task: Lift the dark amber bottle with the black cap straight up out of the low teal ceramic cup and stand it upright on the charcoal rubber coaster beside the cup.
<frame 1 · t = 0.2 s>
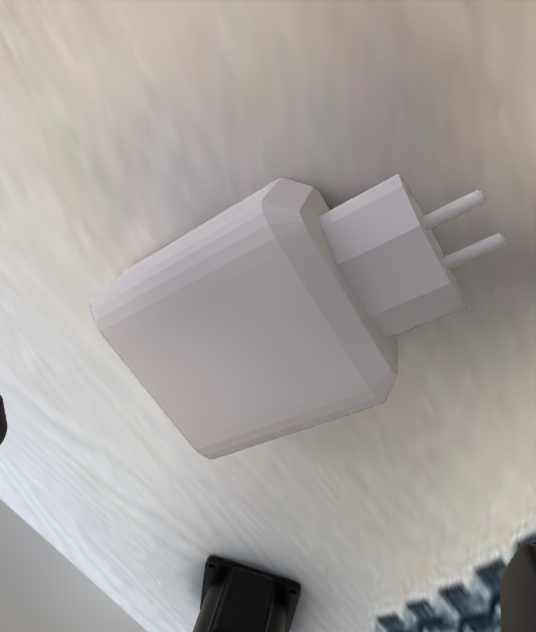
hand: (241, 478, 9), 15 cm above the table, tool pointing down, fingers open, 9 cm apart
charger: (316, 275, 23), on the table
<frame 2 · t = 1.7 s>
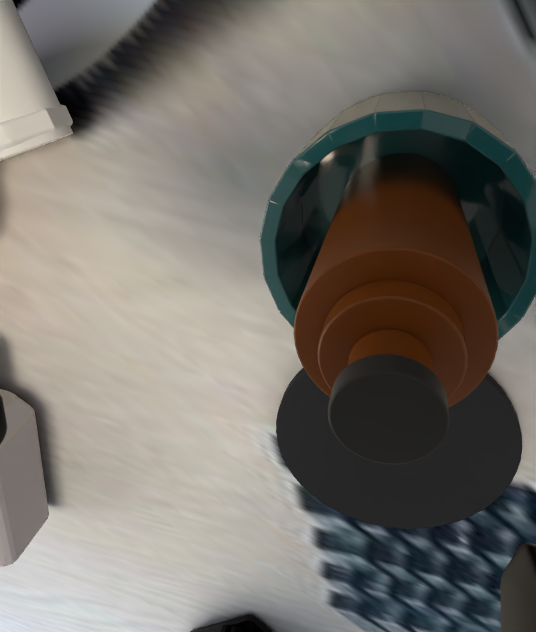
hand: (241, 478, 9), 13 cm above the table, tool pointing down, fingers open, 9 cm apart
coaster: (392, 437, 24), on the table
cup: (397, 207, 19), on the table
bottle: (397, 212, 18), point 1 cm above the table, touching cup
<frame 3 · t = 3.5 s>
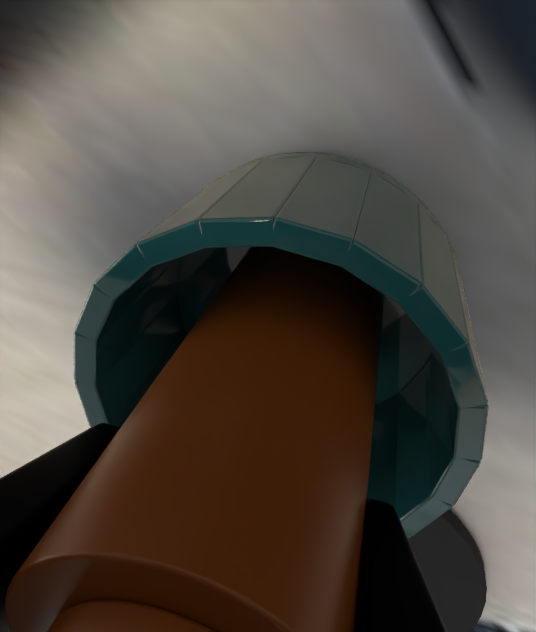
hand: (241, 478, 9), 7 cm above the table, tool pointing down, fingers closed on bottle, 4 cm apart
coaster: (327, 562, 19), on the table
cup: (306, 300, 14), on the table
bottle: (302, 311, 14), point 1 cm above the table, touching cup, gripper
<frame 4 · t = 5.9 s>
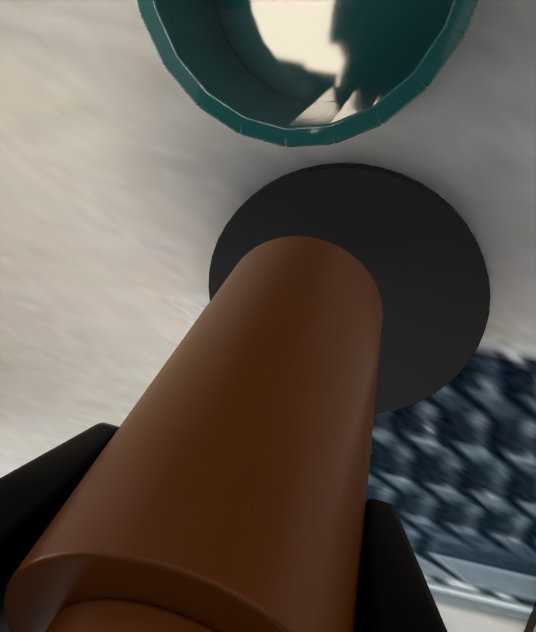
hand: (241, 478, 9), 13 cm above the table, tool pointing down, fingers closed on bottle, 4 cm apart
coaster: (341, 300, 21), on the table
bottle: (301, 310, 14), point 7 cm above the table, touching gripper
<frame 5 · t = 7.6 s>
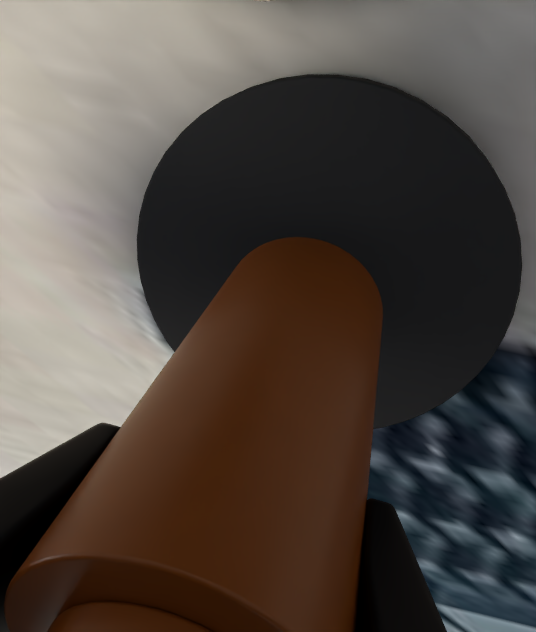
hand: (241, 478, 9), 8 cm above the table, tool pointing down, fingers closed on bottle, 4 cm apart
coaster: (315, 277, 15), on the table
bottle: (302, 311, 14), point 2 cm above the table, touching gripper
when the fingers open (6 cm above the table, at t = 8.4 s): bottle stays where it is, resting on coaster.
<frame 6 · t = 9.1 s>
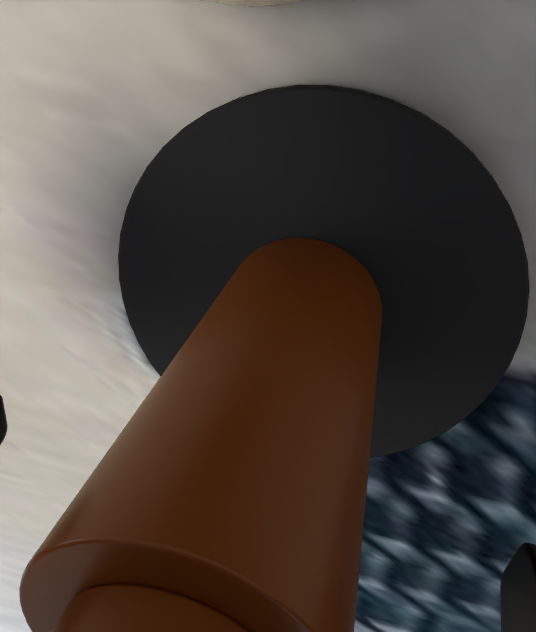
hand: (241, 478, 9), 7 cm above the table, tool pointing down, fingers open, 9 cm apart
coaster: (308, 299, 14), on the table
bottle: (303, 310, 14), point 1 cm above the table, touching coaster
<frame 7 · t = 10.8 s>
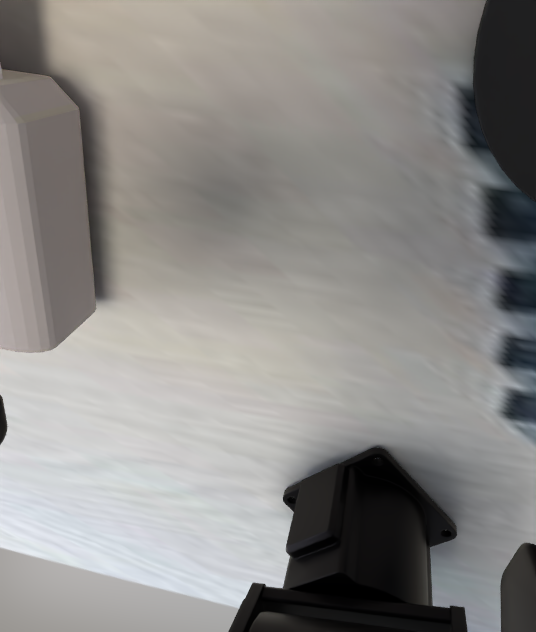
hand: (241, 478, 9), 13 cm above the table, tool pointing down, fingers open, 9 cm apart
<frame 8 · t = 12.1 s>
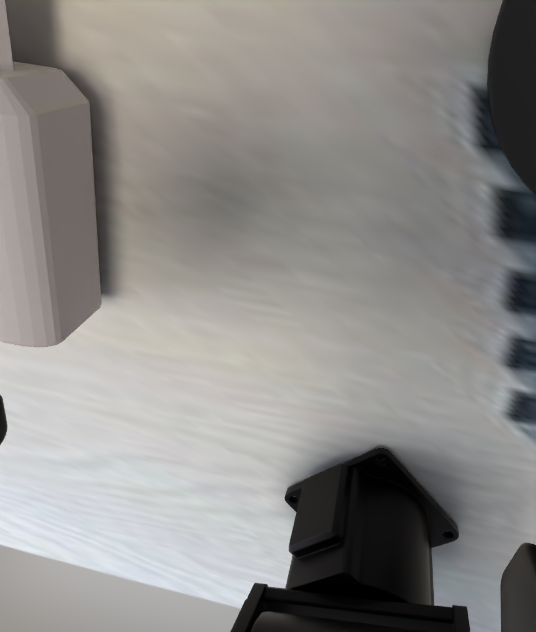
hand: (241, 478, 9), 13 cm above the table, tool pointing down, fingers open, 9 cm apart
charger: (0, 114, 21), on the table
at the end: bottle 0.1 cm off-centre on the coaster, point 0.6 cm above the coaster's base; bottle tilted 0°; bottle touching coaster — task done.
